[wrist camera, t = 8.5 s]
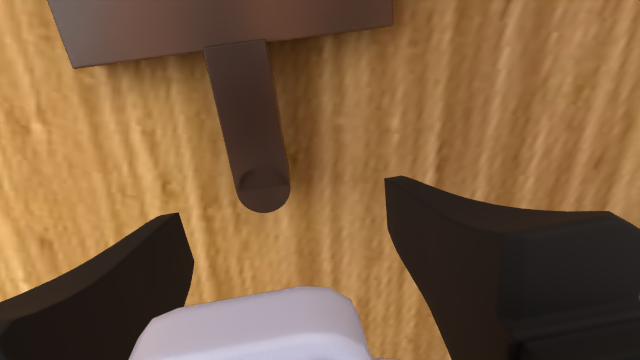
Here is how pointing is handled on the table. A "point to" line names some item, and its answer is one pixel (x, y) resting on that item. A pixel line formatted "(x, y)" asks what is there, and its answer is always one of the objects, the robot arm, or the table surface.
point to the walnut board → (219, 62)
